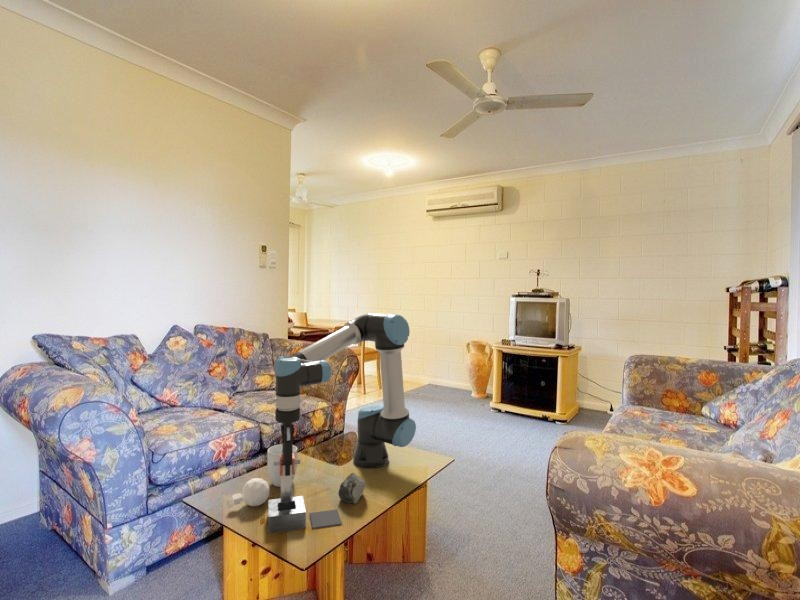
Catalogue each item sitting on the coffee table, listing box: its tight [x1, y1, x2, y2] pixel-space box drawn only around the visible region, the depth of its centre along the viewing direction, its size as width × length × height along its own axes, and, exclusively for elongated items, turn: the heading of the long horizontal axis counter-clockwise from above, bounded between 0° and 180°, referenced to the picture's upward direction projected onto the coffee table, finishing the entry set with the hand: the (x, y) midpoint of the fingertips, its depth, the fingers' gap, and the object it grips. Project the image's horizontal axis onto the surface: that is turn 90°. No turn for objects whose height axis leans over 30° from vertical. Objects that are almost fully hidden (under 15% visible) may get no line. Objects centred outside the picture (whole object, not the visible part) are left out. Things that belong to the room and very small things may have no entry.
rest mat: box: [309, 509, 342, 530], centre depth 138 cm, size 9×9×1 cm
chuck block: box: [267, 495, 307, 534], centre depth 136 cm, size 11×11×5 cm
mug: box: [266, 443, 298, 488], centre depth 161 cm, size 15×11×13 cm
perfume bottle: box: [231, 477, 270, 507], centre depth 146 cm, size 9×9×12 cm
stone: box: [337, 472, 367, 504], centre depth 151 cm, size 10×10×10 cm
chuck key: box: [274, 453, 301, 503], centre depth 136 cm, size 8×4×14 cm, turn 107°
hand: (286, 481), depth 136 cm, fingers closed on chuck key, 4 cm apart
